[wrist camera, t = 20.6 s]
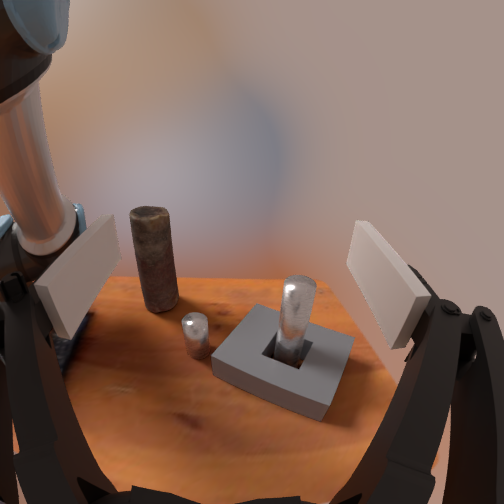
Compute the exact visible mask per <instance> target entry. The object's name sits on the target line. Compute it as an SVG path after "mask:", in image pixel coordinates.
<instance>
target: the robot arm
mask: <svg viewBox="0 0 504 504" xmlns="http://www.w3.org/2000/svg"><path fill="white" fill-rule="evenodd" d="M69 5H70V0H0V195H1V197H2V199H3V201H4V203H5V204H6V206H7V207H8V210H9V211H10V213H11V215H12V216H13V218H14V220H15V221H16V222H13V218H12V217H11V215H9V214H7V215H3V216H1V217H0V504H19V495H18V488H17V480H16V474H17V477H18V481H19V483H20V486H21V489H22V492H23V494H24V497H25V499H26V502H27V504H200V503H197V502H194V501H191V500H188V499H185V498H183V497H180V496H177V495H174V494H172V493H167V492H161V491H156V490H151V489H146V488H141V487H137V486H133V485H132V489H131V491H123V492H118V491H117V490H116V488H115V487H114V486H113V484H112V483H111V482H110V480H109V479H108V478H107V477H106V476H105V475H104V474H103V472H102V471H101V469H100V468H99V466H98V464H97V462H96V460H95V458H94V456H93V454H92V452H91V450H90V448H89V446H88V444H87V441H86V439H85V437H84V435H83V432H82V430H81V428H80V425H79V423H78V420H77V418H76V415H75V413H74V410H73V407H72V405H71V402H70V399H69V396H68V393H67V390H66V387H65V384H64V381H63V377H62V374H61V371H60V367H59V363H58V360H57V356H56V352H55V348H54V343H53V339H52V337H51V335H50V333H49V332H50V331H51V329H52V328H54V330H55V332H56V334H57V336H58V337H60V338H65V339H70V340H71V339H72V338H73V336H74V334H75V332H76V330H77V329H78V327H79V325H80V323H81V322H82V320H83V318H84V316H85V315H86V313H87V311H88V310H89V308H90V306H91V305H92V303H93V301H94V300H95V298H96V297H97V295H98V293H99V292H100V290H101V289H102V287H103V285H104V284H105V282H106V281H107V279H108V278H109V276H110V275H111V273H112V272H113V270H114V269H115V267H116V266H117V264H118V263H119V261H120V260H121V253H120V248H119V243H118V238H117V233H116V227H115V222H114V215H101V216H100V217H99V218H98V219H97V220H96V221H95V222H94V223H93V224H91V225H90V226H89V227H88V228H86V222H85V215H84V209H83V206H82V205H81V204H72V202H71V201H70V200H69V199H68V198H67V197H66V196H64V195H62V194H61V193H60V190H59V186H58V182H57V179H56V175H55V171H54V167H53V163H52V159H51V155H50V150H49V146H48V141H47V136H46V131H45V125H44V119H43V112H42V105H41V97H40V89H39V80H40V79H41V78H42V77H43V76H44V74H45V73H46V72H47V71H48V69H49V67H50V65H51V62H52V53H54V52H55V51H56V50H59V49H60V48H61V47H63V45H64V43H65V41H66V37H67V31H68V17H69V15H68V13H69V12H68V11H69ZM347 266H348V268H349V270H350V271H351V273H352V275H353V277H354V279H355V281H356V282H357V284H358V286H359V288H360V290H361V292H362V293H363V295H364V297H365V299H366V301H367V303H368V305H369V307H370V309H371V311H372V312H373V315H374V316H375V318H376V320H377V322H378V324H379V326H380V329H381V330H382V333H383V335H384V337H385V339H386V341H387V343H388V345H389V347H390V349H398V348H405V347H406V345H407V343H408V342H409V340H410V338H412V339H413V341H414V343H415V344H414V346H413V347H412V349H411V351H410V353H409V354H408V356H407V357H406V359H405V360H404V361H405V362H407V363H406V366H405V368H404V371H403V374H402V376H401V379H400V382H399V384H398V387H397V389H396V391H395V394H394V396H393V398H392V401H391V403H390V405H389V408H388V410H387V412H386V414H385V416H384V418H383V420H382V422H381V424H380V426H379V428H378V430H377V432H376V434H375V436H374V438H373V440H372V442H371V444H370V446H369V447H368V449H367V451H366V453H365V455H364V456H363V458H362V460H361V461H360V463H359V465H358V466H357V468H356V470H355V471H354V473H353V474H352V476H351V478H350V479H349V481H348V482H347V483H346V484H345V486H344V487H343V488H342V489H341V490H340V491H339V492H338V493H337V494H336V495H335V496H334V498H333V499H332V500H331V502H330V503H329V504H427V503H428V501H429V498H430V497H431V494H432V492H433V489H434V486H435V477H434V476H432V475H431V468H432V465H433V462H434V460H435V457H436V454H437V451H438V448H439V445H440V442H441V438H442V435H443V431H444V428H445V424H446V421H447V417H448V412H449V408H450V404H451V431H450V449H449V460H448V470H447V477H446V484H445V490H444V496H443V502H442V504H504V340H503V336H502V333H501V330H500V327H499V325H498V322H497V319H496V317H495V315H494V314H493V313H492V311H491V310H490V309H488V308H487V307H483V306H477V307H476V308H475V309H474V311H473V313H472V315H469V314H463V313H462V312H461V310H460V308H459V307H458V306H457V305H456V304H454V303H453V302H451V301H449V300H445V299H439V297H438V296H437V295H436V293H435V292H434V291H433V290H432V288H431V287H430V286H429V285H428V284H427V282H426V281H425V280H424V278H422V276H421V275H420V274H419V273H418V271H417V270H416V269H414V268H413V267H411V266H410V265H407V264H406V263H405V262H404V261H403V259H402V258H401V257H400V256H399V255H398V254H397V253H396V252H395V250H394V249H393V248H392V247H391V246H390V245H389V243H388V242H387V241H386V240H385V239H384V238H383V237H382V236H381V234H380V233H379V232H378V231H377V230H376V229H375V228H374V227H373V226H372V225H371V224H370V222H369V221H358V220H357V221H356V223H355V228H354V233H353V237H352V242H351V246H350V251H349V255H348V259H347ZM34 280H35V281H34ZM32 281H34V282H32ZM475 355H476V359H475V358H474V357H475ZM12 418H13V423H14V428H15V432H16V437H17V441H18V445H19V450H20V451H19V453H18V454H16V455H14V452H13V430H12ZM15 471H16V473H15ZM236 504H316V503H311V502H306V501H301V500H300V496H293V497H282V498H265V499H255V500H251V501H246V502H242V503H236Z"/></svg>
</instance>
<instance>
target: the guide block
mask: <svg viewBox="0 0 504 504" xmlns="http://www.w3.org/2000/svg"><path fill="white" fill-rule="evenodd" d="M279 317H280V312H279V311H276V310H273V309H271V308H268V307H265V306H263V305H260V304H256V305H255V306H254V307H253V308H252V309H251V311H250V312H249V313H248V314H247V315H246V316H245V318H244V319H243V320H242V321H241V322H240V323H239V324H238V326H237V327H236V328H235V329H234V330H233V331H232V332H231V334H230V335H229V336H228V337H227V338H226V339H225V340H224V341H223V343H222V344H221V345H220V346H219V347H218V348H217V349H216V350H215V352H214V353H213V354H212V355H211V361H212V371H213V375H214V376H216V377H218V378H220V379H222V380H224V381H226V382H228V383H230V384H232V385H234V386H236V387H238V388H240V389H242V390H244V391H247V392H249V393H251V394H253V395H255V396H257V397H260V398H262V399H264V400H266V401H269V402H271V403H273V404H276V405H278V406H281V407H283V408H286V409H288V410H291V411H293V412H296V413H298V414H301V415H303V416H306V417H309V418H312V419H314V420H317V421H320V422H321V420H322V419H323V417H324V415H325V413H326V412H327V410H328V408H329V406H330V404H331V402H332V399H333V397H334V394H335V392H336V389H337V387H338V384H339V382H340V379H341V376H342V374H343V371H344V368H345V365H346V362H347V360H348V357H349V354H350V351H351V348H352V345H353V342H354V339H355V337H352V336H349V335H345V334H342V333H339V332H336V331H333V330H330V329H327V328H324V327H321V326H319V325H316V324H313V323H310V322H309V323H308V327H307V331H306V335H305V339H304V343H303V347H302V351H301V355H300V359H301V360H304V361H303V363H302V365H301V367H300V369H296V368H294V367H291V366H289V365H286V364H284V363H281V362H279V361H276V360H274V359H271V358H270V357H271V355H272V354H273V352H274V351H275V345H276V338H277V331H278V324H279Z"/></svg>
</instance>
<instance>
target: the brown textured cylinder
mask: <svg viewBox="0 0 504 504" xmlns="http://www.w3.org/2000/svg"><path fill="white" fill-rule="evenodd" d="M130 222H131V231H132V237H133V243H134V249H135V255H136V261H137V266H138V272H139V277H140V283H141V289H142V293H143V297H144V302H145V306H146V308H147V309H148V310H150V311H152V312H155V313H156V312H160V311H167V310H170V309H171V308H173V307H174V306H175V305H176V303H177V301H178V299H179V293H178V286H177V278H176V272H175V265H174V256H173V249H172V248H173V247H172V239H171V228H170V218H169V213H168V211H167V209H165V208H163V207H153V206H152V207H150V206H143V207H138V208H135V209H133V210H131V212H130Z"/></svg>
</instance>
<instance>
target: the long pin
mask: <svg viewBox="0 0 504 504" xmlns="http://www.w3.org/2000/svg"><path fill="white" fill-rule="evenodd" d="M316 287H317V286H316V283H315V281H314V280H312V279H311V278H309V277H307V276H303V275H293V276H289V277H288V278H286V279H285V281H284V288H283V296H282V303H281V310H280V317H279V324H278V331H277V338H276V345H275V351H274V358H273V359H274V360H276V361H279V362H281V363H284V364H286V365H289V366H291V367H294V368H296V369H297V366H298V363H299V359H300V355H301V351H302V347H303V343H304V339H305V335H306V331H307V327H308V323H309V319H310V314H311V310H312V305H313V301H314V296H315V292H316Z"/></svg>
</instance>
